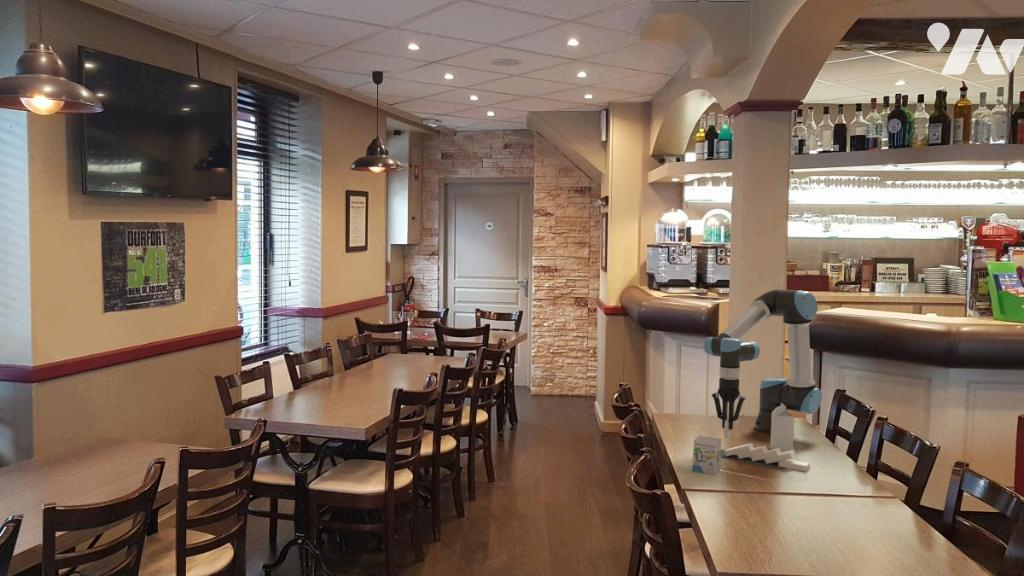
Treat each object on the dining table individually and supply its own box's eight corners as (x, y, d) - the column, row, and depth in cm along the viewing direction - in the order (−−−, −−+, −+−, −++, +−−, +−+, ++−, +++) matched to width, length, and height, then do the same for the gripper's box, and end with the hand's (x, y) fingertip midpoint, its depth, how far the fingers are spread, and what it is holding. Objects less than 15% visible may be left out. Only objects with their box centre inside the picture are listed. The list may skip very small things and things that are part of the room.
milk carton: (787, 448, 297) (789, 403, 296) (792, 453, 290) (795, 406, 289) (770, 448, 298) (772, 402, 296) (774, 452, 291) (776, 406, 289)
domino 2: (754, 453, 282) (779, 447, 276) (756, 458, 281) (781, 452, 276) (750, 456, 277) (775, 450, 272) (752, 461, 277) (777, 455, 272)
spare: (728, 448, 288) (752, 442, 282) (730, 453, 287) (754, 447, 282) (724, 451, 284) (748, 445, 278) (726, 456, 283) (750, 450, 278)
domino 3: (768, 455, 279) (793, 449, 273) (770, 460, 278) (795, 454, 273) (764, 458, 275) (789, 452, 269) (766, 463, 274) (791, 458, 269)
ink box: (691, 471, 265) (692, 440, 264) (697, 465, 272) (698, 434, 272) (715, 475, 261) (716, 443, 260) (720, 469, 268) (721, 438, 268)
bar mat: (720, 450, 293) (720, 449, 293) (792, 463, 277) (792, 462, 277) (709, 456, 283) (709, 455, 283) (783, 471, 267) (783, 470, 267)
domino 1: (741, 450, 285) (765, 445, 279) (743, 455, 284) (767, 450, 279) (737, 453, 281) (761, 448, 275) (739, 458, 280) (763, 453, 275)
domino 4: (782, 457, 276) (809, 462, 270) (782, 463, 276) (809, 468, 270) (778, 461, 272) (806, 466, 266) (778, 466, 272) (806, 471, 266)
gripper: (709, 377, 284) (707, 436, 286) (742, 381, 277) (740, 442, 278) (716, 374, 290) (714, 432, 292) (749, 378, 283) (746, 437, 284)
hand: (727, 437), depth 285 cm, fingers closed
